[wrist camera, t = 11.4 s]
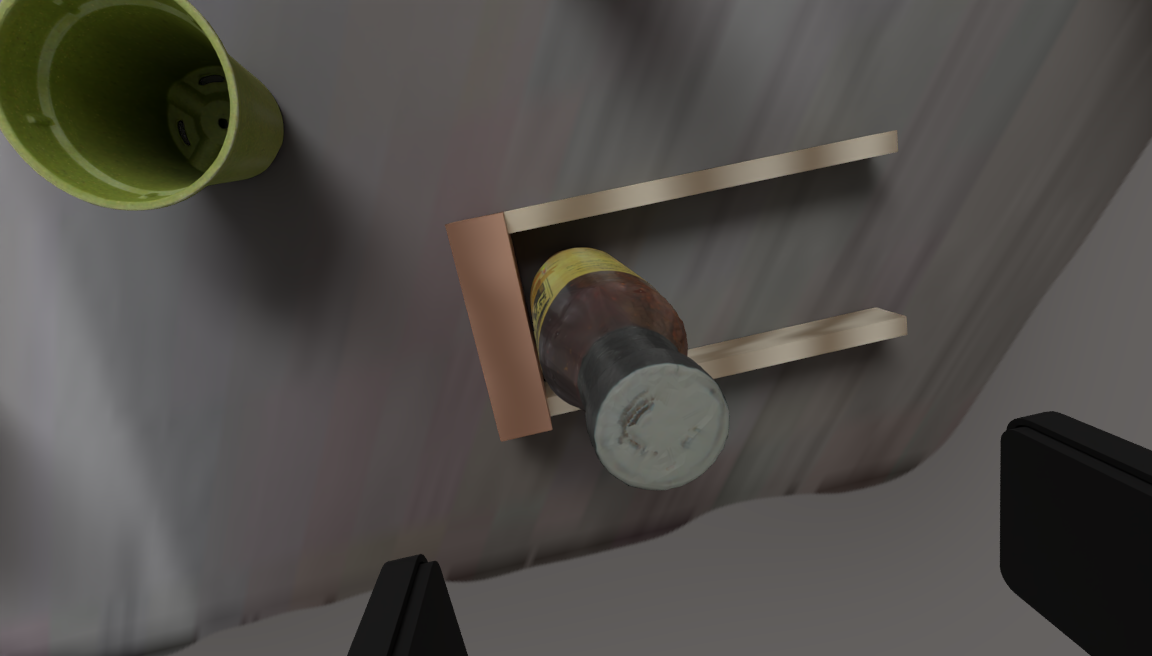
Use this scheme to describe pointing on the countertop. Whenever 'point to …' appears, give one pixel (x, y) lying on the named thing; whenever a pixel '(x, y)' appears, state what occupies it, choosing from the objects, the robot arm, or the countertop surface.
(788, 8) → the countertop surface
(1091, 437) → the robot arm
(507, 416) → the guide track
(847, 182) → the countertop surface
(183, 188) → the plant pot
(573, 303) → the sauce bottle
